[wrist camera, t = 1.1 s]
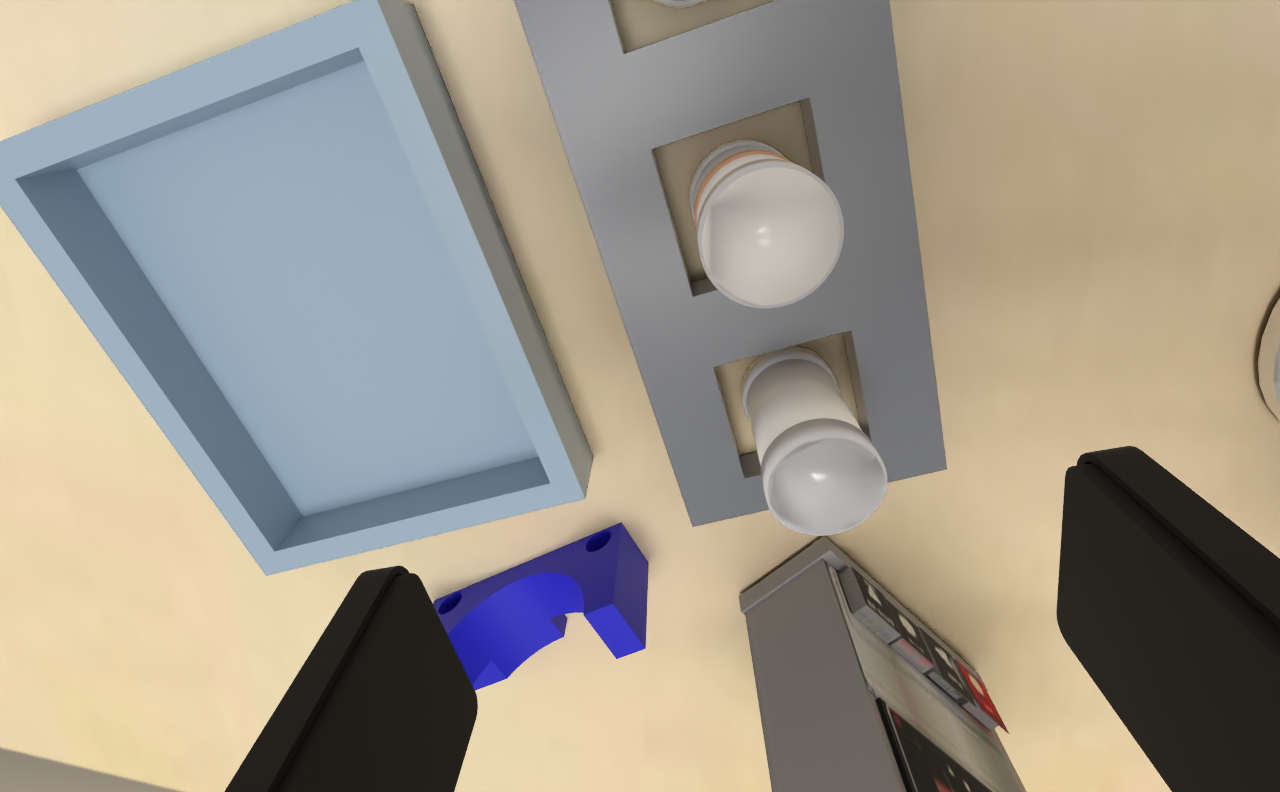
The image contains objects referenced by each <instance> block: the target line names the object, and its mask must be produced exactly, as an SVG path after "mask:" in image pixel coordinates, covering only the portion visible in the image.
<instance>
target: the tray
mask: <svg viewBox="0 0 1280 792" xmlns="http://www.w3.org/2000/svg"><path fill="white" fill-rule="evenodd" d="M0 206H1V208H2V209H3V210H4V212H5V213H6V215H7V216H8V217H9V219H10V220H11V222H12V223H13V224H14V226H15V227H16V229H17V230H18V231H19V233H20V234H21V235H22V237H23V238H24V240H25V241H26V242H27V244H28V245H29V247H30V248H31V249H32V251H33V252H34V254H35V255H36V256H37V258H38V259H39V261H40V262H41V263H42V265H43V266H44V267H45V269H46V270H47V272H48V273H49V274H50V276H51V277H52V279H53V280H54V281H55V283H56V284H57V286H58V287H59V288H60V290H61V291H62V292H63V294H64V295H65V297H66V298H67V299H68V301H69V302H70V304H71V305H72V306H73V308H74V309H75V311H76V312H77V313H78V315H79V316H80V318H81V319H82V320H83V322H84V323H85V324H86V326H87V327H88V329H89V330H90V331H91V333H92V334H93V336H94V337H95V338H96V340H97V341H98V343H99V344H100V345H101V347H102V348H103V350H104V351H105V352H106V354H107V355H108V356H109V358H110V359H111V361H112V362H113V363H114V365H115V366H116V368H117V369H118V370H119V372H120V373H121V375H122V376H123V377H124V379H125V380H126V381H127V383H128V384H129V386H130V387H131V388H132V390H133V391H134V393H135V394H136V395H137V397H138V398H139V400H140V401H141V402H142V404H143V405H144V407H145V408H146V409H147V411H148V412H149V413H150V415H151V416H152V418H153V419H154V420H155V422H156V423H157V425H158V426H159V427H160V429H161V430H162V432H163V433H164V434H165V436H166V437H167V439H168V440H169V441H170V443H171V444H172V445H173V447H174V448H175V450H176V451H177V452H178V454H179V455H180V457H181V458H182V459H183V461H184V462H185V464H186V465H187V466H188V468H189V469H190V470H191V472H192V473H193V475H194V476H195V477H196V479H197V480H198V482H199V483H200V484H201V486H202V487H203V489H204V490H205V491H206V493H207V494H208V496H209V497H210V498H211V500H212V501H213V502H214V504H215V505H216V507H217V508H218V509H219V511H220V512H221V514H222V515H223V516H224V518H225V519H226V521H227V522H228V523H229V525H230V526H231V528H232V529H233V530H234V532H235V533H236V534H237V536H238V537H239V539H240V540H241V541H242V543H243V544H244V546H245V547H246V548H247V550H248V551H249V553H250V554H251V555H252V557H253V558H254V559H255V561H256V562H257V564H258V565H259V566H260V568H261V569H262V571H263V572H264V573H265V575H266V576H268V575H272V574H276V573H280V572H284V571H288V570H292V569H297V568H301V567H305V566H309V565H313V564H317V563H321V562H326V561H330V560H334V559H338V558H342V557H346V556H351V555H355V554H359V553H363V552H367V551H371V550H375V549H380V548H384V547H388V546H392V545H396V544H400V543H404V542H409V541H413V540H417V539H421V538H425V537H429V536H434V535H438V534H442V533H446V532H450V531H454V530H458V529H463V528H467V527H471V526H475V525H479V524H483V523H487V522H492V521H496V520H500V519H504V518H508V517H512V516H516V515H521V514H525V513H529V512H533V511H537V510H541V509H546V508H550V507H554V506H558V505H562V504H566V503H570V502H575V501H579V500H583V499H586V493H587V488H588V483H589V477H590V472H591V467H592V462H593V455H592V453H591V450H590V448H589V445H588V443H587V440H586V438H585V435H584V433H583V430H582V428H581V425H580V423H579V420H578V417H577V415H576V412H575V410H574V407H573V405H572V402H571V400H570V397H569V395H568V392H567V390H566V387H565V385H564V382H563V380H562V377H561V375H560V372H559V370H558V367H557V365H556V362H555V360H554V357H553V355H552V352H551V350H550V347H549V345H548V342H547V340H546V337H545V335H544V332H543V330H542V327H541V325H540V322H539V320H538V317H537V314H536V312H535V309H534V307H533V304H532V302H531V299H530V297H529V294H528V292H527V289H526V287H525V284H524V282H523V279H522V277H521V274H520V272H519V269H518V267H517V264H516V262H515V259H514V257H513V254H512V252H511V249H510V247H509V244H508V242H507V239H506V237H505V234H504V232H503V229H502V227H501V224H500V222H499V219H498V217H497V214H496V211H495V209H494V206H493V204H492V201H491V199H490V196H489V194H488V191H487V189H486V186H485V184H484V181H483V179H482V176H481V174H480V171H479V169H478V166H477V164H476V161H475V159H474V156H473V154H472V151H471V149H470V146H469V144H468V141H467V139H466V136H465V134H464V131H463V129H462V126H461V124H460V121H459V119H458V116H457V114H456V111H455V108H454V106H453V103H452V101H451V98H450V96H449V93H448V91H447V88H446V86H445V83H444V81H443V78H442V76H441V73H440V71H439V68H438V66H437V63H436V61H435V58H434V56H433V53H432V51H431V48H430V46H429V43H428V41H427V38H426V36H425V33H424V31H423V28H422V26H421V23H420V21H419V18H418V16H417V13H416V10H415V8H414V5H413V4H410V3H407V2H404V1H400V0H354V1H352V2H349V3H347V4H344V5H342V6H339V7H337V8H334V9H332V10H329V11H327V12H324V13H322V14H319V15H317V16H314V17H312V18H309V19H307V20H304V21H302V22H299V23H297V24H294V25H292V26H289V27H287V28H284V29H282V30H279V31H277V32H274V33H272V34H269V35H266V36H264V37H261V38H259V39H256V40H254V41H251V42H249V43H246V44H244V45H241V46H239V47H236V48H234V49H231V50H229V51H226V52H224V53H221V54H219V55H216V56H214V57H211V58H209V59H206V60H204V61H201V62H199V63H196V64H194V65H191V66H189V67H186V68H184V69H181V70H178V71H176V72H173V73H171V74H168V75H166V76H163V77H161V78H158V79H156V80H153V81H151V82H148V83H146V84H143V85H141V86H138V87H136V88H133V89H131V90H128V91H126V92H123V93H121V94H118V95H116V96H113V97H111V98H108V99H106V100H103V101H101V102H98V103H96V104H93V105H90V106H88V107H85V108H83V109H80V110H78V111H75V112H73V113H70V114H68V115H65V116H63V117H60V118H58V119H55V120H53V121H50V122H48V123H45V124H43V125H40V126H38V127H35V128H33V129H30V130H28V131H25V132H23V133H20V134H18V135H15V136H13V137H10V138H8V139H5V140H3V141H0Z"/></svg>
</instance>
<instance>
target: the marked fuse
mask: <svg viewBox="0 0 1280 792" xmlns="http://www.w3.org/2000/svg"><path fill="white" fill-rule="evenodd" d="M689 202H690V208H691V213H692V217H693V220H694V223H695V226H696V231H697V244H698V249H699V254H700V259H701V262H702V265H703V268H704V270H705V272H706V274H707V276H708V278H709V279H710V281H711V282H712V283H713V285H714V286H715V287H716V288H717V289H718V290H719V291H720V292H721V293H723V294H724V295H725V296H726V297H728V298H730V299H731V300H733V301H735V302H737V303H739V304H742V305H745V306H749V307H754V308H777V307H782V306H786V305H789V304H792V303H795V302H797V301H799V300H801V299H803V298H804V297H806V296H808V295H809V294H811V293H812V292H813V291H814V290H816V289H817V288H818V287H819V286H820V285H821V284H822V283H823V282H824V281H825V280H826V278H827V277H828V276H829V274H830V273H831V271H832V270H833V268H834V266H835V265H836V262H837V260H838V258H839V255H840V252H841V249H842V244H843V238H844V223H843V216H842V212H841V208H840V206H839V203H838V201H837V199H836V197H835V195H834V194H833V192H832V191H831V189H830V188H829V187H828V186H827V184H826V183H824V182H823V181H822V180H821V179H820V178H819V177H817V176H816V175H815V174H813V173H812V172H810V171H808V170H807V169H805V168H804V167H802V166H800V165H798V164H796V163H793V162H791V161H790V160H788V159H787V158H785V157H784V156H783V155H782V154H781V153H780V152H778V151H777V150H775V149H774V148H772V147H771V146H769V145H767V144H765V143H763V142H760V141H756V140H750V139H741V140H734V141H730V142H727V143H725V144H722V145H720V146H719V147H717V148H715V149H714V150H713V151H711V152H710V153H709V154H708V155H707V156H706V157H705V158H704V159H703V160H702V161H701V163H700V164H699V166H698V167H697V169H696V171H695V173H694V175H693V178H692V181H691V185H690V191H689Z"/></svg>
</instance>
